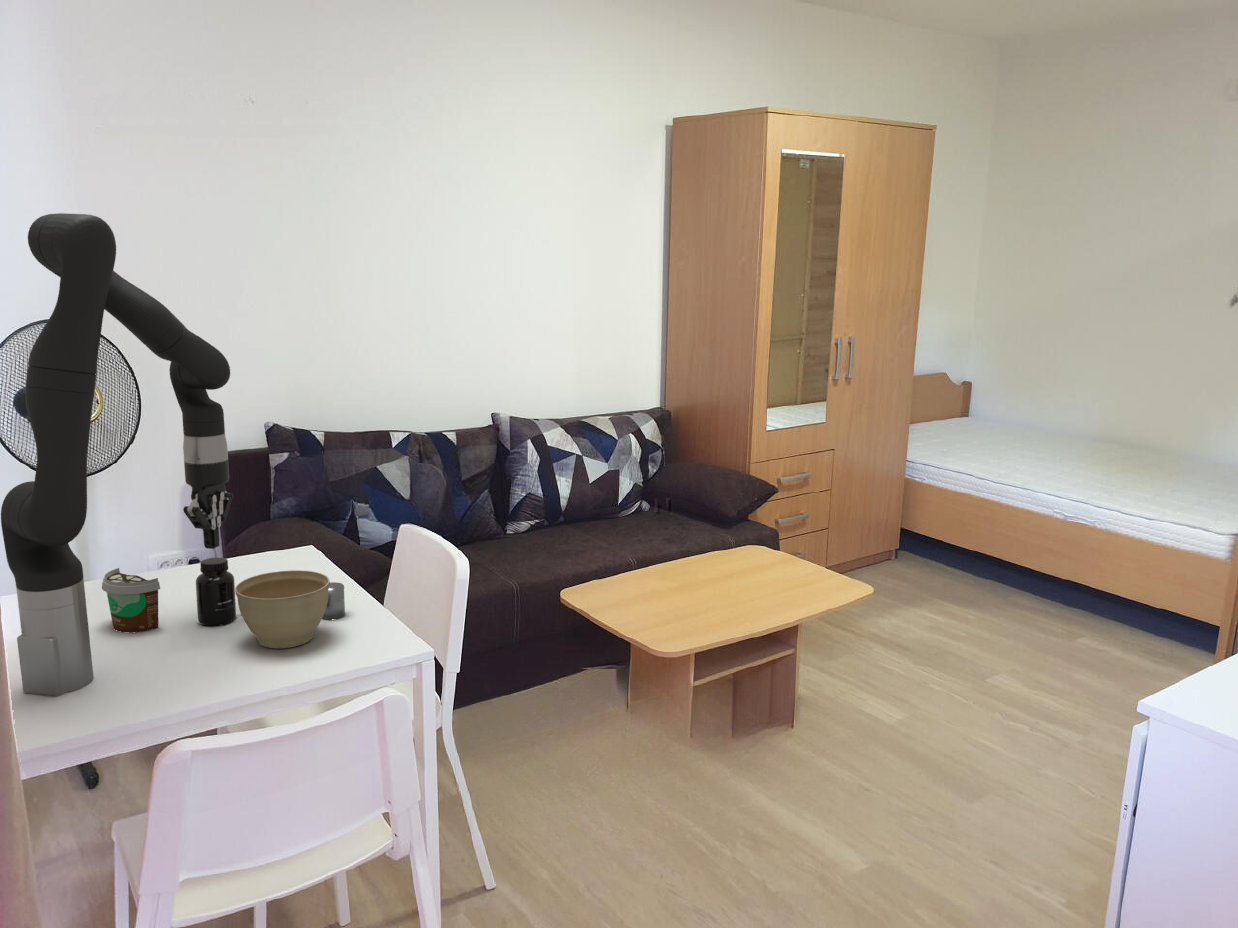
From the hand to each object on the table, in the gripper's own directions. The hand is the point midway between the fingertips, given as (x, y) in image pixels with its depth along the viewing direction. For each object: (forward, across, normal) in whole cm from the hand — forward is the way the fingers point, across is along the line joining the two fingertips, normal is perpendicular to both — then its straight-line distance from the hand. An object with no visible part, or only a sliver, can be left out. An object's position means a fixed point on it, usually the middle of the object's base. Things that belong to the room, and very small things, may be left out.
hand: (212, 547), depth 176 cm
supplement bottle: (+15, 0, 0) cm, 15 cm away
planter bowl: (+15, -6, -17) cm, 24 cm away
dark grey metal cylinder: (+15, +7, -20) cm, 26 cm away
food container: (+15, -7, +14) cm, 22 cm away
